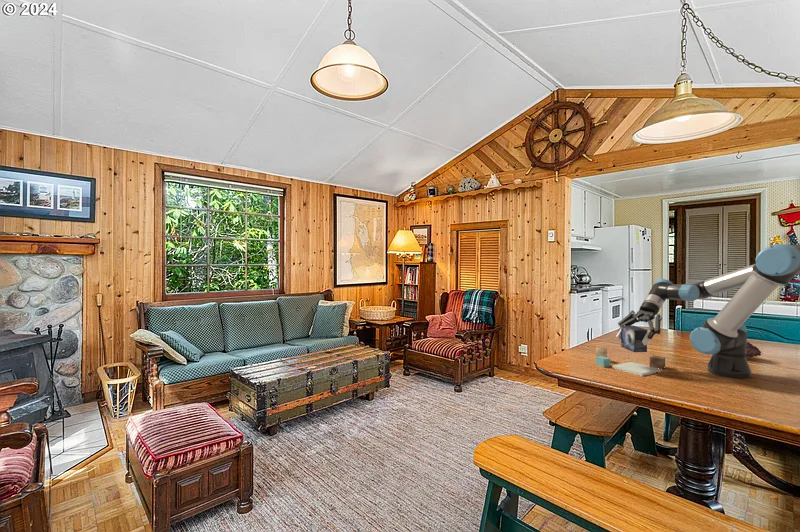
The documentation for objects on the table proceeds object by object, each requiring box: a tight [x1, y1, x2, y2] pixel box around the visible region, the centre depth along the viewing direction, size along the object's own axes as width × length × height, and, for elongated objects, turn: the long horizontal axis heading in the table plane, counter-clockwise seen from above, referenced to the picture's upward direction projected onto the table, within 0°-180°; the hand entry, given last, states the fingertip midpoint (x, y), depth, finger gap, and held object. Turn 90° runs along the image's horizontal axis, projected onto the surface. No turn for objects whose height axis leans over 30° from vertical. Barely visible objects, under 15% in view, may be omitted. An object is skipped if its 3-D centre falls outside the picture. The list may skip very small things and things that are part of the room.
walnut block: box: [649, 355, 666, 370], centre depth 183 cm, size 5×5×5 cm
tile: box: [611, 361, 662, 377], centre depth 179 cm, size 14×14×1 cm
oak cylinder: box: [595, 347, 608, 358], centre depth 196 cm, size 5×5×6 cm
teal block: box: [595, 356, 611, 368], centre depth 187 cm, size 5×4×4 cm
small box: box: [620, 324, 648, 353], centre depth 180 cm, size 11×6×10 cm, turn 2°
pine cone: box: [746, 341, 762, 358], centre depth 197 cm, size 18×10×10 cm, turn 8°
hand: (630, 340), depth 179 cm, fingers closed on small box, 12 cm apart
